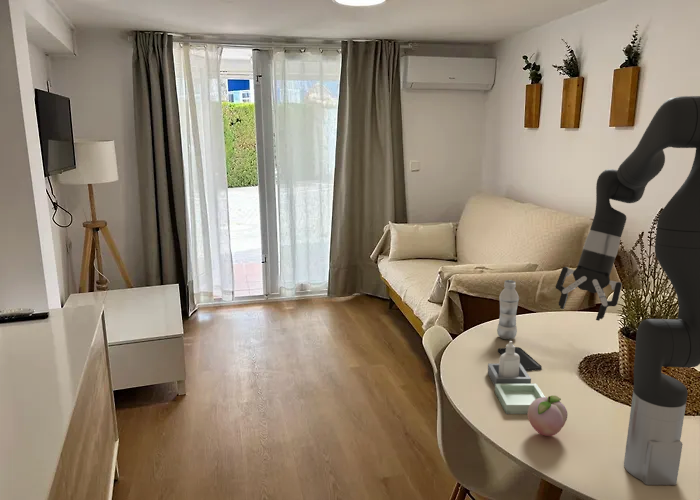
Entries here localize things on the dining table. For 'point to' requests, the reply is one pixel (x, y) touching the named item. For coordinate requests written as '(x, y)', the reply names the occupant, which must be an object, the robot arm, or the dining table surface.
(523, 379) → the grey square tray
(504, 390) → the tray
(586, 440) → the dining table surface
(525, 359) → the phone
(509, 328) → the plastic bottle
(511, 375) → the eye dropper bottle
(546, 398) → the decorative fruit
